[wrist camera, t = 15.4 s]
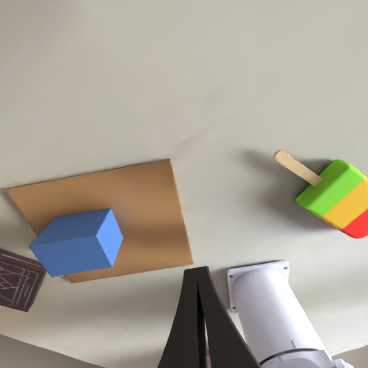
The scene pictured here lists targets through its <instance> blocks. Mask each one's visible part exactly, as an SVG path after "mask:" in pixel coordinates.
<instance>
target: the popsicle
mask: <svg viewBox="0 0 368 368" xmlns="http://www.w3.org/2000/svg"><path fill="white" fill-rule="evenodd" d="M273 158H274V159H275V160H276V161H278V162H279V163H281V164H282V165H284V166H285V167H286V168H288V169H289V170H291V171H292V172H294V173H295V174H297V175H298V176H300V177H301V178H303V179H304V180H306V181H307V182H309V183H310V185H309V186H308V187H307V188H306V189H305V190H304V191H303V192H302V193H301V194H300V195H299V196H298V197H297V198H296V199H295V201H296V203H297V204H299V205H300V206H301V207H303V208H304V209H306V210H308V211H309V212H311V213H312V214H314V215H316V216H317V217H319V218H321V219H322V220H324V221H325V222H327V223H329V224H330V225H332V226H334V227H335V228H337V229H338V230H340V231H342V232H343V233H345V234H346V235H348V236H350V237H352V238H357V239H359V238H363V237H365V236H367V235H368V178H367V177H366V176H364V175H363V174H362V173H361V172H359V171H358V170H357V169H356V168H354V167H353V166H352V165H350V164H349V163H347V162H344V161H342V160H334V161H333V162H332V163H331V164H330V165H329V166H328V167H327V168H326V169H325V170H324V171H323V172H322V173H321V174H320V175H319V176H318V175H316V174H315V173H314V172H312V171H311V170H309V169H308V168H307V167H305V166H304V165H302V164H301V163H300V162H298V161H297V160H295V159H294V158H292V157H291V156H290V155H288V154H287V153H285V152H284V151H282V150H278V151H277V152H276V153H275V154H274V156H273Z"/></svg>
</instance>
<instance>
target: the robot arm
mask: <svg viewBox="0 0 368 368" xmlns="http://www.w3.org/2000/svg"><path fill="white" fill-rule="evenodd" d="M289 266H290V264H289V262H288V261H286V260H284V261H278V262H272V263H265V264H259V265H252V266H246V267H239V268H233V269H228V270H227V281H228V290H229V299H230V308H231V312H232V313H238V315H239V318H240V322H241V325H242V329H243V332H244V336H245V340H246V343H247V344H246V343H245V341H244V340H243V338H242V336H241V335H240V333H239V331H238V330H237V328H236V326H235V325H234V323H233V321H232V319H231V318H230V316H229V314H228V312H227V310H226V308H225V306H224V304H223V302H222V300H221V298H220V296H219V294H218V292H217V290H216V288H215V285H214V283H213V280H212V278H211V275H210V271H209V267H207V266H204V267H198V268H192V269H186V270H185V271H184V276H183V284H182V289H181V294H180V298H179V303H178V307H177V311H176V315H175V318H174V321H173V325H172V328H171V331H170V335H169V338H168V341H167V344H166V346H165V349H164V352H163V355H162V357H161V360H160V363H159V365H158V368H208V367H207V354H206V337H205V323H206V329H207V336H208V344H209V353H210V362H211V368H353V366H351V365H349V364H348V363H344V361H343V360H342V359H337V360H335V362H336V364H337V365H336V364H335V362H334V361H333V359H332V358H331V357H330V355H329V354H328V352H327V351H326V349H325V348H324V346H323V344H322V343H321V341H320V339H319V337H318V336H317V334H316V332H315V330H314V329H313V327H312V325H311V323H310V322H309V320H308V318H307V317H306V315H305V313H304V311H303V310H302V308H301V306H300V304H299V303H298V301H297V299H296V298H295V296H294V294H293V292H292V291H291V289H290V287H289V285H288V284H287V283H288V274H289ZM204 318H205V320H204ZM337 366H338V367H337Z"/></svg>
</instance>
